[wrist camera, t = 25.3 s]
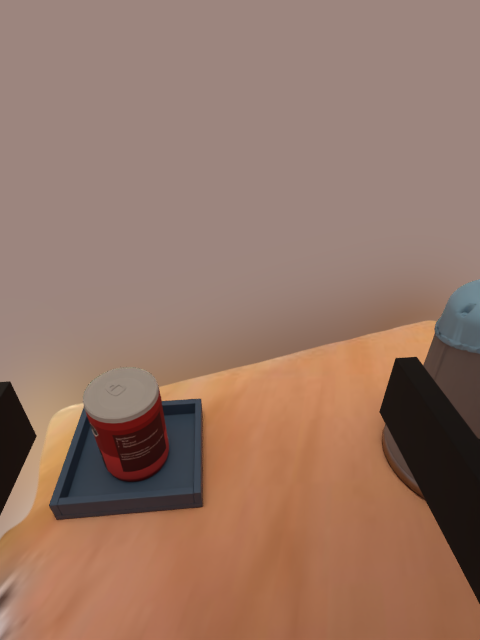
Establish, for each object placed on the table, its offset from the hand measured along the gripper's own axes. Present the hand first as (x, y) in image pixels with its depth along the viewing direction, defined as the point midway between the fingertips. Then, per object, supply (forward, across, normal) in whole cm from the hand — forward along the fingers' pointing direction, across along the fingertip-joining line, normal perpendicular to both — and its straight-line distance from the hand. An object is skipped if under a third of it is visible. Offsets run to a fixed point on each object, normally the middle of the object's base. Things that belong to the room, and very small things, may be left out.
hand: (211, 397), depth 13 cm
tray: (+20, -10, -30) cm, 37 cm away
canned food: (+20, -10, -29) cm, 37 cm away
